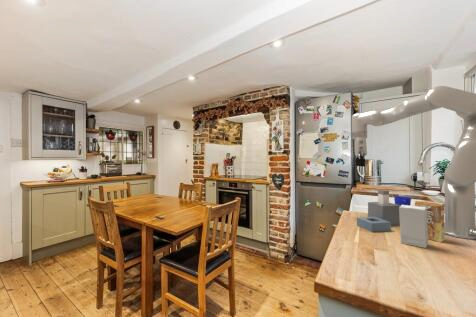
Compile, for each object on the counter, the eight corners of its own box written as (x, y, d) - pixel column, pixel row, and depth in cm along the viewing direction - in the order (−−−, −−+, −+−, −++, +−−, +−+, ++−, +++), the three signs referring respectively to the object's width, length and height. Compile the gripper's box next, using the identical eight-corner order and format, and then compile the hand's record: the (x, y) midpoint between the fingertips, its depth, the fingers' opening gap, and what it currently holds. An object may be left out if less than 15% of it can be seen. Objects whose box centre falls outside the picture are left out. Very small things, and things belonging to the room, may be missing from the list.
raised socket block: (400, 225, 111) (400, 205, 111) (382, 226, 110) (382, 206, 110) (384, 219, 121) (384, 201, 121) (368, 220, 120) (367, 202, 120)
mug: (396, 216, 129) (396, 198, 129) (393, 211, 140) (393, 195, 140) (414, 217, 125) (414, 200, 125) (409, 212, 136) (409, 196, 136)
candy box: (444, 240, 91) (444, 203, 91) (441, 242, 88) (441, 204, 88) (418, 234, 98) (418, 200, 98) (414, 236, 96) (414, 201, 96)
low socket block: (390, 230, 103) (390, 222, 103) (371, 231, 101) (371, 223, 101) (374, 224, 113) (374, 216, 113) (356, 225, 111) (356, 217, 111)
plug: (389, 210, 114) (389, 190, 114) (383, 210, 114) (383, 190, 114) (383, 208, 118) (383, 189, 118) (378, 208, 117) (378, 190, 117)
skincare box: (428, 244, 86) (428, 206, 86) (426, 249, 82) (426, 209, 82) (402, 239, 92) (402, 203, 92) (398, 242, 88) (398, 206, 88)
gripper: (370, 133, 114) (371, 166, 114) (364, 136, 130) (365, 165, 130) (354, 134, 117) (354, 166, 117) (350, 137, 133) (350, 165, 133)
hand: (360, 166), depth 123 cm, fingers open, 9 cm apart
